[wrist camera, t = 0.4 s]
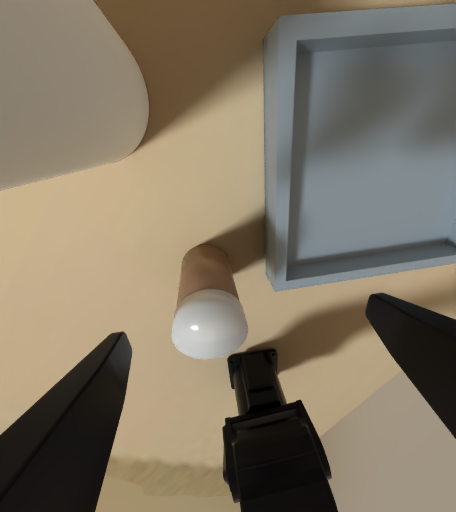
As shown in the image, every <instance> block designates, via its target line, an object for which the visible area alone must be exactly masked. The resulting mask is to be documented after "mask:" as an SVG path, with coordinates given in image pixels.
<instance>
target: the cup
mask: <svg viewBox="0 0 456 512" xmlns="http://www.w3.org/2000/svg"><path fill="white" fill-rule="evenodd" d="M148 118H149V100H148V93H147V89H146V84H145V81H144V78H143V75H142V73H141V70H140V68H139V66H138V64H137V62H136V60H135V58H134V57H133V55H132V53H131V52H130V50H129V49H128V47H127V46H126V45H125V43H124V42H123V40H122V39H121V38H120V36H119V35H118V34H117V32H116V31H115V30H114V28H113V27H112V25H111V24H110V23H109V21H108V20H107V19H106V17H105V16H104V15H103V13H102V12H101V10H100V9H99V8H98V6H97V5H96V4H95V2H94V1H93V0H0V191H1V190H5V189H9V188H13V187H17V186H21V185H25V184H29V183H33V182H37V181H41V180H45V179H49V178H53V177H57V176H61V175H66V174H70V173H74V172H78V171H82V170H86V169H90V168H94V167H98V166H102V165H106V164H110V163H114V162H117V161H120V160H122V159H124V158H125V157H127V156H128V155H130V154H131V153H132V152H133V151H134V150H135V149H136V148H137V147H138V145H139V144H140V142H141V140H142V139H143V136H144V134H145V131H146V128H147V124H148Z"/></svg>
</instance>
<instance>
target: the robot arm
mask: <svg viewBox="0 0 456 512" xmlns="http://www.w3.org/2000/svg"><path fill="white" fill-rule="evenodd" d="M365 313H366V317H367V319H368V320H369V322H370V323H371V325H372V326H373V328H374V330H375V331H376V333H377V334H378V336H379V337H380V339H381V340H382V342H383V344H384V345H385V347H386V348H387V350H388V351H389V353H390V354H391V356H392V357H393V358H394V360H395V361H396V362H397V364H398V365H399V366H400V367H401V369H402V370H403V371H404V373H405V374H406V375H407V377H408V378H409V379H410V380H411V382H412V383H413V384H414V386H415V387H416V388H417V389H418V391H419V392H420V393H421V395H422V396H423V397H424V398H425V400H426V401H427V402H428V404H429V405H430V406H431V408H432V409H433V410H434V411H435V413H436V414H437V415H438V417H439V418H440V419H441V421H442V422H443V423H444V424H445V426H446V427H447V428H448V429H449V431H450V432H451V433H452V435H453V436H454V437H455V439H456V320H455V319H452V318H450V317H447V316H444V315H442V314H439V313H436V312H433V311H431V310H428V309H425V308H423V307H420V306H417V305H414V304H412V303H409V302H406V301H404V300H401V299H398V298H395V297H393V296H390V295H387V294H385V293H376V294H372V295H370V296H369V299H368V303H367V307H366V311H365ZM131 358H132V348H131V345H130V343H129V340H128V338H127V335H126V333H125V332H116V333H112V334H110V335H109V336H108V337H107V338H106V339H104V340H103V341H102V342H101V343H100V344H99V345H98V346H97V347H96V348H95V349H94V350H92V351H91V352H90V353H89V354H88V355H87V356H86V357H85V358H84V359H83V360H82V361H81V362H79V363H78V364H77V365H76V366H75V367H74V368H73V369H72V370H71V371H70V372H69V373H67V374H66V375H65V376H64V377H63V378H62V379H61V380H60V381H59V382H58V383H57V384H55V385H54V386H53V387H52V388H51V389H50V390H49V391H48V392H47V393H46V394H45V395H43V396H42V397H41V398H40V399H39V400H38V401H37V402H36V403H35V404H34V405H33V406H32V407H30V408H29V409H28V410H27V411H26V412H25V413H24V414H23V415H22V416H21V417H20V418H18V419H17V420H16V421H15V422H14V423H13V424H12V425H11V426H10V427H9V428H8V429H6V430H5V431H4V432H3V433H2V434H1V435H0V512H95V510H96V506H97V502H98V498H99V495H100V491H101V487H102V483H103V479H104V476H105V472H106V469H107V465H108V461H109V457H110V454H111V450H112V446H113V442H114V439H115V435H116V431H117V427H118V424H119V420H120V416H121V412H122V408H123V404H124V400H125V395H126V389H127V383H128V376H129V370H130V364H131ZM227 361H228V368H229V374H230V381H231V388H232V389H235V394H236V400H237V407H238V414H239V416H236V417H232V418H230V417H228V418H225V424H226V425H225V426H224V427H223V428H222V429H223V440H224V458H223V478H224V481H225V482H226V483H227V484H228V485H229V487H230V491H231V492H232V496H233V501H234V503H238V502H240V507H241V512H338V510H337V506H336V503H335V500H334V497H333V494H332V491H331V488H330V485H329V483H328V479H331V477H332V476H331V471H330V466H329V463H328V460H327V457H326V454H325V451H324V448H323V446H322V443H321V441H320V438H319V436H318V434H317V432H316V430H315V428H314V426H313V424H312V422H311V420H310V418H309V416H308V413H307V411H306V409H305V407H304V405H303V403H302V401H301V400H297V401H296V402H293V403H289V404H287V402H286V399H285V396H284V394H283V391H282V388H281V385H280V382H279V379H278V376H277V351H276V350H275V349H271V350H266V351H260V352H254V353H249V354H243V355H237V356H232V357H229V358H228V359H227Z"/></svg>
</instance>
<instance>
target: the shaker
mask: <svg viewBox="0 0 456 512" xmlns="http://www.w3.org/2000/svg"><path fill="white" fill-rule="evenodd" d="M247 333H248V326H247V321H246V318H245V314H244V311H243V307H242V305H241V303H240V301H239V298H238V294H237V290H236V286H235V283H234V279H233V275H232V271H231V268H230V264H229V260H228V257H227V255H226V254H225V253H224V252H223V251H222V250H221V249H220V248H218V247H216V246H213V245H199V246H196V247H194V248H192V249H191V250H189V251H188V252H187V253H186V255H185V256H184V258H183V261H182V267H181V275H180V283H179V292H178V300H177V307H176V310H175V313H174V320H173V327H172V340H173V343H174V345H175V346H176V348H177V349H178V350H179V351H180V352H182V353H183V354H185V355H187V356H189V357H192V358H197V359H216V358H220V357H223V356H226V355H228V354H230V353H232V352H234V351H235V350H236V349H238V348H239V347H240V346H241V345H242V344H243V342H244V341H245V339H246V337H247Z"/></svg>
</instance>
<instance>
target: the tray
mask: <svg viewBox="0 0 456 512" xmlns="http://www.w3.org/2000/svg"><path fill="white" fill-rule="evenodd" d="M263 53H264V150H265V247H266V275H267V277H268V279H269V281H270V283H271V285H272V287H273V289H274V291H275V292H276V291H283V290H289V289H295V288H302V287H308V286H314V285H321V284H327V283H333V282H340V281H346V280H352V279H359V278H365V277H371V276H378V275H384V274H390V273H397V272H403V271H409V270H416V269H422V268H428V267H435V266H441V265H447V264H454V263H456V3H455V4H440V5H426V6H411V7H396V8H382V9H367V10H353V11H338V12H324V13H309V14H295V15H280V16H279V17H278V18H277V20H276V21H275V23H274V24H273V26H272V27H271V29H270V30H269V32H268V33H267V35H266V37H265V38H264V40H263Z"/></svg>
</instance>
